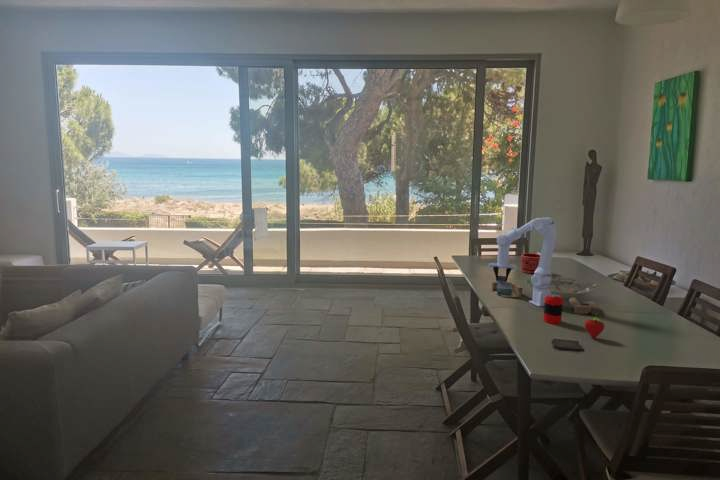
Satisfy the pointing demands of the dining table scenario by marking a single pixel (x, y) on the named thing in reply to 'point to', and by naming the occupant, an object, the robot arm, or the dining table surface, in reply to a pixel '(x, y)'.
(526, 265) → the plant pot
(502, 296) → the pose pad
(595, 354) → the dining table surface
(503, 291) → the bracket
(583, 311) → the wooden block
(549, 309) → the soda can
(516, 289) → the corner fence
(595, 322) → the strawberry
